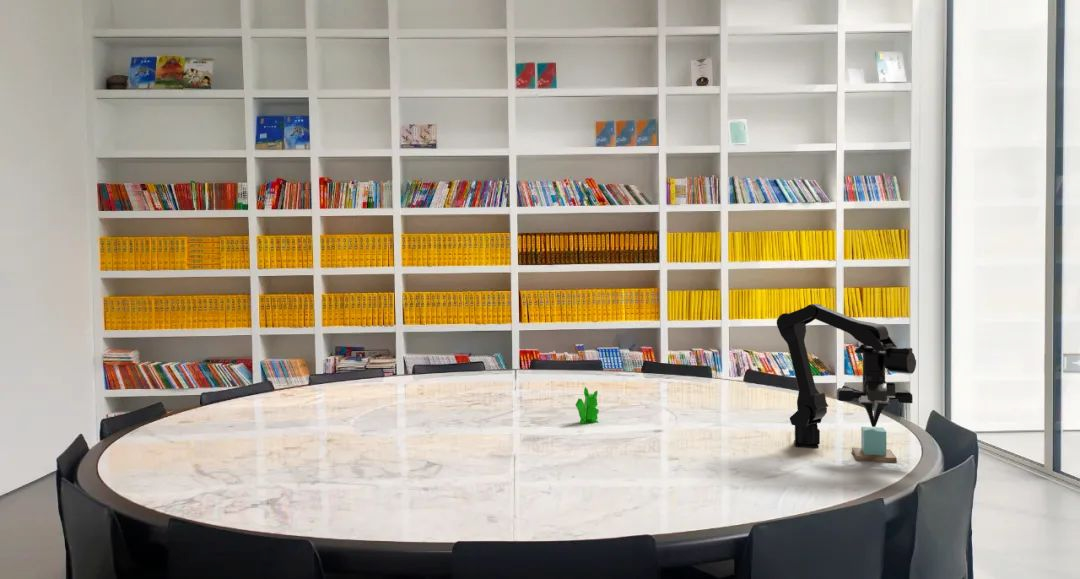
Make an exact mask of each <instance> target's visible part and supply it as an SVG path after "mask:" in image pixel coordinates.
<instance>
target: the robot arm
mask: <svg viewBox="0 0 1080 579" xmlns="http://www.w3.org/2000/svg"><path fill="white" fill-rule="evenodd" d="M815 320H817V321H819V322H822V323H823V324H826V325H829V326H831V327H833V328H836V329H838V330H840V331H843V332H845V333H848V334H849V335H850V336H851V337H853V338H854V339H855V340H856V341H858V342H859V343H861V344H860V346H858V348H856V349H855V350H854V353H856V354H857V353H858V354H862V391H854V389H853V388H850V387H838V388H837V389H836V399H837V400H838V401H840V402H852V401H853V400H854V399H858V400H857V401H858V403H859V404H860V405H863V406H864V409H865V411H866V414H867V416H868V419H869V422H870V425H871V427H877V424H878V421H879V418H880V416H881V413H882V411H883V410H884V408H885V407H886V406H890V402H889V401H890V400H896V401H898V403H899V404H914V403H913V394H912V393H911V392H910V391H909V390H908V389H896V384H895V382H886V369H887V371H888V372H890V373H891V372H892V373H899V374H908V375H911V374H914V372H915V370H916V368H917V367H916V366H917V359H916V356H915V354H914V352H913V348H912V347H897V345H896V344H895V342H894V341H893V340H892V339H891V337H890V335H889V331H888V328H887V327H886V326H885V325H883V324H881V323H875V322H871V321H864V320H858V319H855V318H853V317H850V316H848V315H846V314H843V313H840V312H838V311H835V310H833V309H830V308H828V307H825V306H823V305H822V304H820V303H811V304H808V305H807V306H804V307H803V308H799V309H797V310H794V311H791V312H785V313H781V314H780V315H779V316H778V317H777V319H776V327H777V329H778V331H779V334H780V336H781V338H782V339H783V340H784V341H785V342H786V344H787V347H788V352H789V355H790V356H789V357H790V359H791V364H792V368H793V372H794V376H795V381H796V385H797V389H798V394H797V399H796V406H797V407H796V408H797V411H796V412H794V413H793V414H792V415H790V417H789V421H790V425H791V426H794V440H793V443H794V447H802V446H807V448H818V447H819V445H820V444H821V440H820V439H821V434H820V432H821V431H820V428H818V424H821V422H822V420H823V418H824V417H825V415H827V413H828V407H829V404H828V403H827V400H826V394H825V392H822V393H820V392H819V390H818V389H817V388H816V385H815V384H816V383H815V381H814V380H815V379H814V376H813V373H812V369H811V364H810V359H809V355H808V351H807V347H806V344H805V337H806V333H807V326H806V325H808V324H810V323H812V322H813V321H815ZM873 402H874V404H873ZM873 405H874V407H873Z"/></svg>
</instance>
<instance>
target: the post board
mask: <svg viewBox="0 0 1080 579" xmlns="http://www.w3.org/2000/svg"><path fill="white" fill-rule="evenodd" d="M852 452H853V453H852ZM851 453H852V455H853V454H854V455H853V457H854V459H855V460H856V461H861V462H862V461H863V462H865V461H866V462H881V463H883V462H885V463H897V461H898V460H897V457H896V455H895V454H894V453H893V450H891V449H887V448H886V456H884V455H864V453H863V452H862V450H861V447H852V448H851Z"/></svg>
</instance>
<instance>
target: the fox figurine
mask: <svg viewBox="0 0 1080 579" xmlns="http://www.w3.org/2000/svg"><path fill="white" fill-rule="evenodd" d="M583 396H584V400H583V399H582V398H578V399H577V401H576V403H575V407H576V409H577V411H578V416H579V417H580V418H579V419H580V420H579V423H580V425H585V424H588V423H589V424H590V423H591V424H593V423H594V424H595V423H599V421H598V418H599V417H598V414H599V411H600V409H598V408H597V406H598V405H599V403H598V390H596V391H594V392H593V393H589V391H588V388H587V387H586V386H584V390H583Z"/></svg>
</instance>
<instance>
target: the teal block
mask: <svg viewBox="0 0 1080 579" xmlns="http://www.w3.org/2000/svg"><path fill="white" fill-rule="evenodd" d="M860 428H861V430H860V431H861V433H860V434H861V435H860V436H861V438H860V439H861V442H860V443H861V444H860V445H861V446H860V448H861V450H862V452H863V453H864V455H884V456H886V449H887V431H886V428H884V427H877V426H876V427H872V426H860Z"/></svg>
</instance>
